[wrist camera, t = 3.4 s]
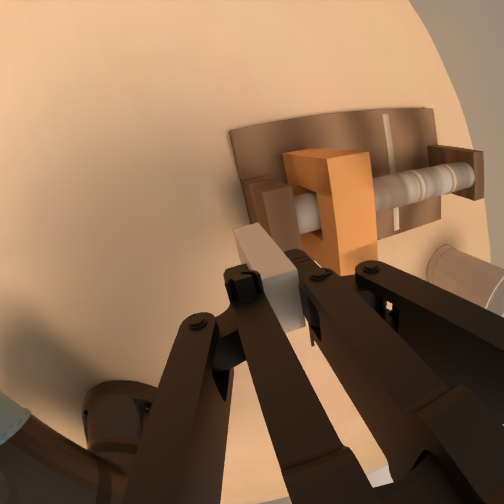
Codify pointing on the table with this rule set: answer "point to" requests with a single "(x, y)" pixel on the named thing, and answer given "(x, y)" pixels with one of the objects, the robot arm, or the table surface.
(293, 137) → the pipe stand
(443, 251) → the cup
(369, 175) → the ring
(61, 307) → the table surface
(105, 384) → the robot arm
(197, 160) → the table surface
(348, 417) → the table surface
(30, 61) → the table surface
